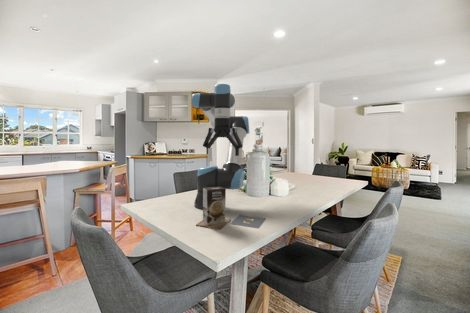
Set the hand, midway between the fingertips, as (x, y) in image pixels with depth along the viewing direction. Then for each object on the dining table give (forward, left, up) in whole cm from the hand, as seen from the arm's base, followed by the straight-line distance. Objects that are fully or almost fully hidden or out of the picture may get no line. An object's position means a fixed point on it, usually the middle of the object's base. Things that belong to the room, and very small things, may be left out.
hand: (222, 161), depth 113 cm
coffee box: (-1, -8, -28) cm, 29 cm away
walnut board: (-1, -7, -28) cm, 29 cm away
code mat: (+13, +2, -28) cm, 31 cm away
